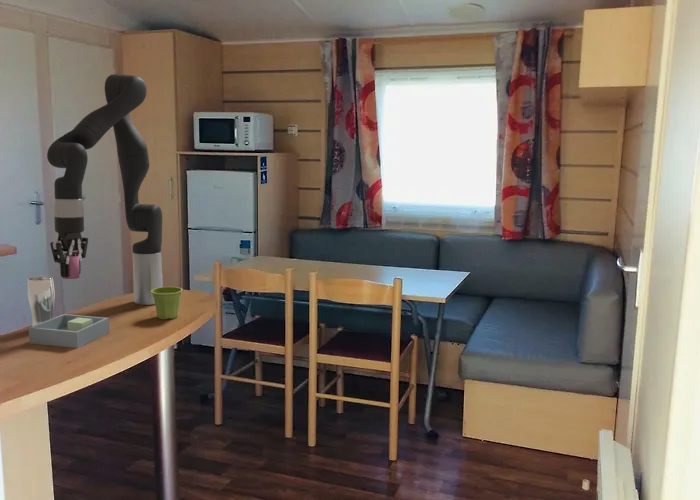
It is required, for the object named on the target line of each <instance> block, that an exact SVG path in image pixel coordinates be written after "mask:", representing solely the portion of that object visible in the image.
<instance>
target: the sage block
mask: <svg viewBox="0 0 700 500" xmlns="http://www.w3.org/2000/svg"><path fill="white" fill-rule="evenodd" d="M91 324H93V319H89V318H75V319H73V320H71V321H68V322H67V326H68V331H78V330H80V329H82V328H85V327H87V326H89V325H91Z"/></svg>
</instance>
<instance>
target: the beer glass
mask: <svg viewBox="0 0 700 500" xmlns="http://www.w3.org/2000/svg"><path fill="white" fill-rule="evenodd" d="M55 295H56V294H55V283H54V277H53V276H51V275H36V276H31V277H29V278H27V299H28V304H29V308H30V311H31V318H32V319H31V321H32V323H31V327H32V326H34V325H37V324H39V323H42V322H44V321H47V320H50V319H52V318H54V314H53V313H54V305H55Z"/></svg>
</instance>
